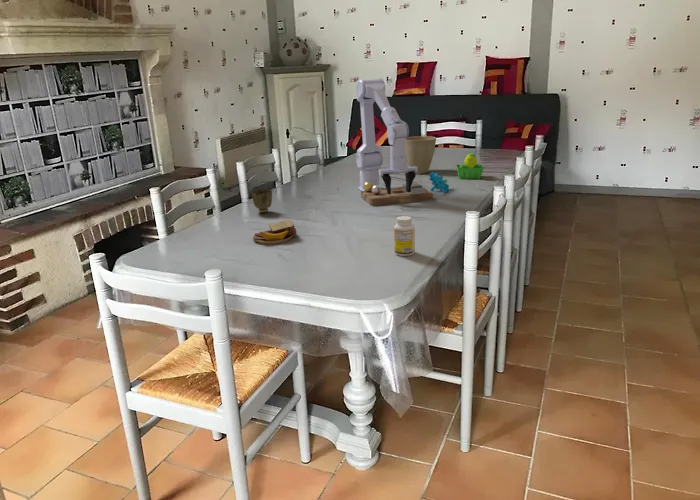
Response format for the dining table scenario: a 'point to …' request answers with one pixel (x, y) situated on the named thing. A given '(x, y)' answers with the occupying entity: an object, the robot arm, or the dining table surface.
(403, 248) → the supplement bottle
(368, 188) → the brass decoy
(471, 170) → the fruit basket
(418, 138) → the plant pot
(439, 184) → the blue irregular figure
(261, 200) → the cup
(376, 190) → the steel ball
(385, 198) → the wooden cutting board
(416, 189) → the cover
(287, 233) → the toy sandwich meal
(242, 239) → the dining table surface
